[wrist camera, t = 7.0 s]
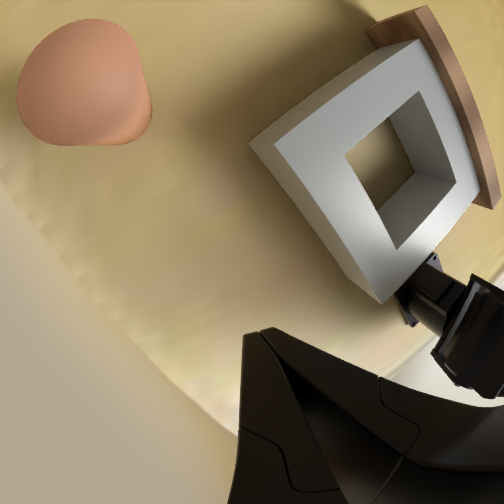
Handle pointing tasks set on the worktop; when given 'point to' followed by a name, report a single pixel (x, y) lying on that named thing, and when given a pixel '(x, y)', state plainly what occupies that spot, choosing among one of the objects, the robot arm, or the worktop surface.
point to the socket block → (347, 183)
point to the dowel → (85, 86)
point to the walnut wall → (456, 85)
